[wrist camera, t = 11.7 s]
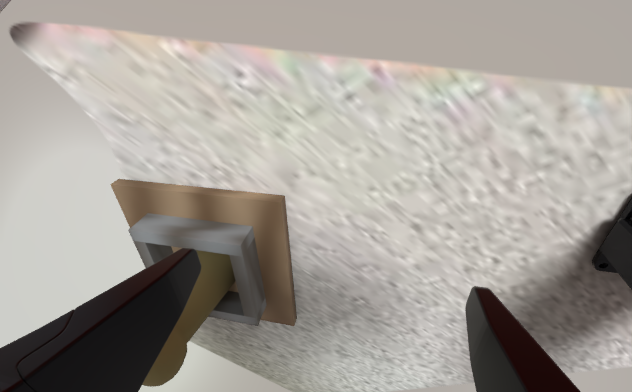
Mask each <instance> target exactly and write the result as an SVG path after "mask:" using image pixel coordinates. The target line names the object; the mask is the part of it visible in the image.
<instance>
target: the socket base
mask: <svg viewBox="0 0 632 392" xmlns="http://www.w3.org/2000/svg"><path fill="white" fill-rule="evenodd" d="M111 186H112V189H113V191H114V193H115V195H116V198H117V200H118V202H119V204H120V206H121V208H122V211H123V213H124V215H125V217H126V220H127V222H128V224H129V226H130V229H129V233H130V235H131V237H132V239H133V241H134V244H135V246H136V248H137V250H138V252H139V254H140V256H141V259H142V261H143V263H144V265H145V267H146V268H148V267H149V266H151V265H153V264H155V263H157V262H158V261H160V260H162V259H164V258H165V257H167V256H169V255H171V254H172V253H174V252H176V251H178V250H180V249H181V248H184V247H187V248H194V249H195V250H200V251H207V252H213V253H220V254H227V255H229V256H230V260H231V264H232V268H233V272H234V276H235V283H234V284H233V285H232V286H231V288H230V289H229V290H228V292H227V293H226V294H225V295H224V297H223V298H222V299H221V300H220V302H219V303H218V304H217V306H216V307H215V308H214V309H213V311H212V312H211V313H210V314H209V317H214V318H219V319H224V320H229V321H235V322H240V323H245V324H250V325H255V326H258V324H259V321H260V320H265V321H270V322H275V323H280V324H286V325H291V326H294V325H295V322H296V319H297V316H296V306H295V296H294V285H293V275H292V265H291V255H290V245H289V235H288V225H287V214H286V204H285V196H282V195H272V194H262V193H252V192H242V191H232V190H222V189H213V188H203V187H193V186H183V185H173V184H163V183H153V182H143V181H133V180H123V179H118V180H117V181H115V182H114V183H112V184H111Z"/></svg>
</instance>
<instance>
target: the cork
mask: <svg viewBox="0 0 632 392" xmlns="http://www.w3.org/2000/svg"><path fill="white" fill-rule="evenodd" d="M196 251H197V254H198V257H199V260H200V263H201V272H200V274H199V277H198V279H197V281H196V284H195V286H194V288H193V290H192V293H191V295H190V297H189V300H188V302H187V304H186V306H185V308H184V310H183V312H182V314H181V316H180V318H179V320H178V322H177V323H176V325H175V327H174V329H173V331H172V332H171V334H170V336H169V338H168V339H167V341H166V343H165V345H164V347H163V348H162V350H161V352H160V354H159V355H158V357H157V359H156V361H155V363H154V364H153V366H152V368H151V370H150V371H149V373H148V375H147V377H146V379H145V380H144V382H143V384H142V385H145V386H160V385H163V384H164V383H166V382H167V381H169V380H170V379H172V378H173V377H174V376H175V375H176V374H177V373H178V371H179V369H180V368H181V366H182V364H183V362H184V359H185V356H186V353H187V342H188V341H189V340H190V339H191V337H192V336H193V335H194V334H195V332H196V331H197V330H198V328H199V327H200V326H201V325H202V323H203V322H204V321H205V320H206V318H207V317H208V316H209V314H210V313H211V312H212V311H213V309H214V308H215V307H216V306H217V304H218V303H219V302H220V300H221V299H222V298H223V297H224V295H225V294H226V293H227V292H228V290H229V289H230V288H231V286H232V285H233V284H234V283H235V276H234V272H233V268H232V264H231V260H230V256H229V255H227V254H220V253H213V252H207V251H200V250H196Z"/></svg>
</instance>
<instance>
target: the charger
mask: <svg viewBox="0 0 632 392" xmlns="http://www.w3.org/2000/svg"><path fill="white" fill-rule="evenodd" d="M10 1H11V0H0V12H1V11H2V10H3V9H4V8H5V7H6V5H7V4H8V3H9V2H10Z"/></svg>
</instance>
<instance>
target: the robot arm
mask: <svg viewBox="0 0 632 392" xmlns="http://www.w3.org/2000/svg"><path fill="white" fill-rule="evenodd" d="M602 263H603V264H602ZM592 265H593V266H594V268H595V269H597V270H599V271H606V272H614V273H619V274H620V276H621V277H622V278H623V279H624V281H625V282H626V283H627V284H628V286H629V287H630V288H631V290H632V199H631V200H630V202H629V204H628V205H627V207H626V208H625V210H624V211H623V213H622V215H621V216H620V218H619V219H618V221H617V222H616V224H615V225H614V227H613V229H612V230H611V232H610V233H609V235H608V236H607V238H606V240H605V241H604V243H603V244H602V246H601V247H600V249H599V251H598V252H597V254H596V255H595V257H594V259H593V260H592ZM200 272H201V263H200V260H199V257H198V254H197V251H196V250H195V249H194V248H187V247H184V248H181V249H180V250H178V251H176V252H174V253H172V254H171V255H169V256H167V257H165V258H164V259H162V260H160V261H158V262H157V263H155V264H153V265H151V266H149V267H148V268H146V269H144V270H142V271H141V272H139V273H137V274H135V275H134V276H132V277H130V278H128V279H127V280H125V281H123V282H121V283H119V284H118V285H116V286H114V287H112V288H111V289H109V290H107V291H105V292H104V293H102V294H100V295H98V296H96V297H95V298H93V299H91V300H89V301H88V302H86V303H84V304H82V305H81V306H79V307H77V308H76V309H75V310H72V311H70V312H68V313H67V314H65V315H63V316H61V317H59V318H58V319H56V320H54V321H52V322H50V323H48V324H46V325H45V326H43V327H41V328H39V329H37V330H35V331H33V332H31V333H29V334H28V335H26V336H23V337H22V338H20V339H18V340H16V341H14V342H12V343H10V344H8V345H6V346H4V347H2V348H0V392H138V391H139V389H140V387H141V385H142V384H143V382H144V380H145V379H146V377H147V375H148V373H149V371H150V370H151V368H152V366H153V364H154V363H155V361H156V359H157V357H158V355H159V354H160V352H161V350H162V348H163V347H164V345H165V343H166V341H167V339H168V338H169V336H170V334H171V332H172V331H173V329H174V327H175V325H176V323H177V322H178V320H179V318H180V316H181V314H182V312H183V310H184V308H185V306H186V304H187V302H188V300H189V297H190V295H191V293H192V290H193V288H194V286H195V284H196V281H197V279H198V277H199V274H200ZM466 321H467V331H468V342H469V352H470V361H471V367H472V372H473V377H474V382H475V386H476V391H477V392H580V390H579V389H578V388H577V387H576V386H575V385H574V384H573V383H572V381H571V380H570V379H569V378H568V377H567V376H566V375H565V373H564V372H563V371H562V370H561V369H560V368H559V367H558V366H557V364H556V363H555V362H554V361H553V360H552V359H551V358H550V357H549V355H548V354H547V353H546V352H545V351H544V350H543V349H542V348H541V346H540V345H539V344H538V343H537V342H536V341H535V340H534V339H533V337H532V336H531V335H530V334H529V333H528V332H527V331H526V330H525V328H524V327H523V326H522V325H521V324H520V323H519V322H518V320H517V319H516V318H515V317H514V316H513V315H512V314H511V313H510V311H509V310H508V309H507V308H506V307H505V306H504V305H503V304H502V302H501V301H500V300H499V299H498V298H497V297H496V296H495V295H494V293H493V292H492V291H491V290H490V289H488V288H485V287H477V286H474V287H473V288H472V289H471V292H470V295H469V297H468V300H467V303H466Z"/></svg>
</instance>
